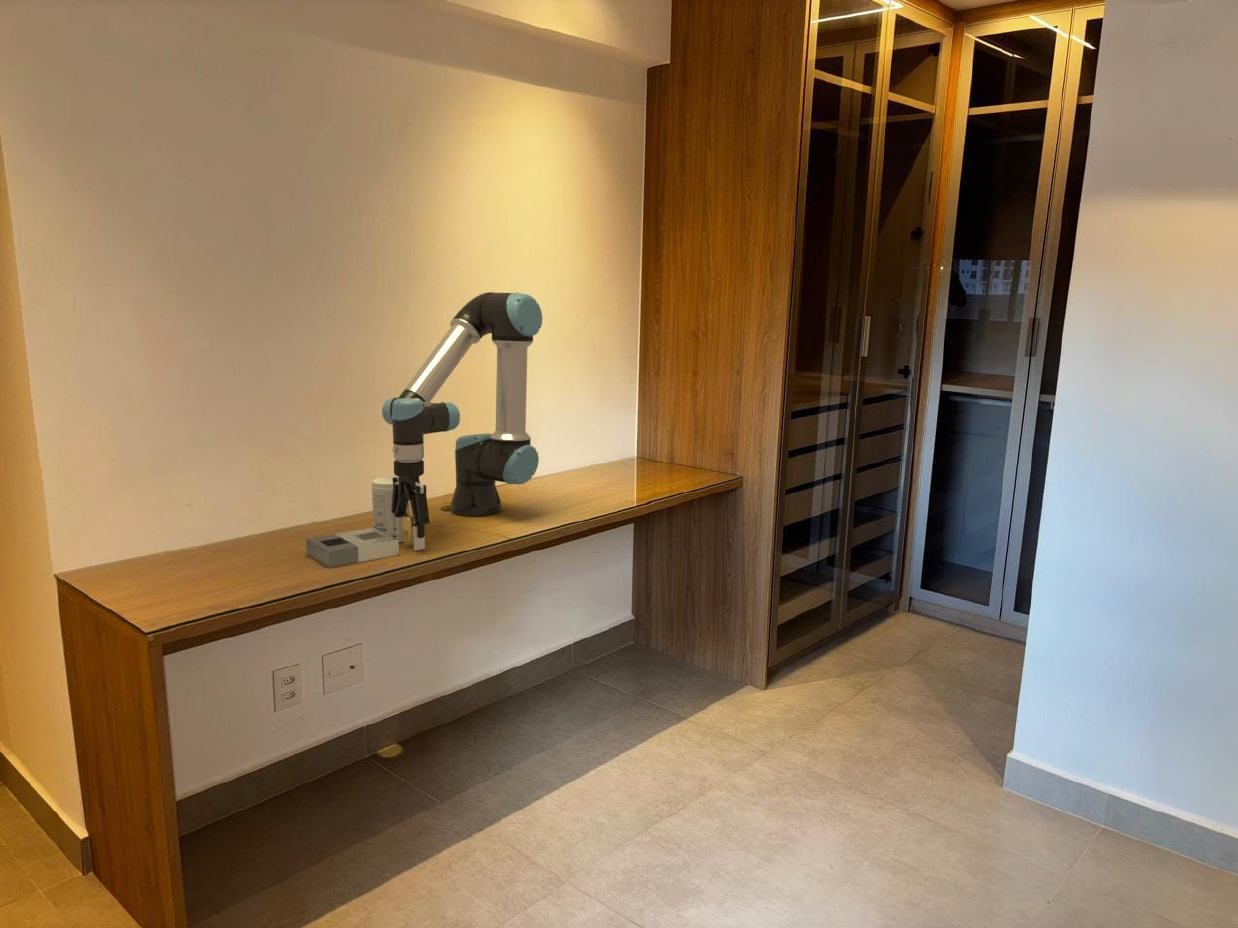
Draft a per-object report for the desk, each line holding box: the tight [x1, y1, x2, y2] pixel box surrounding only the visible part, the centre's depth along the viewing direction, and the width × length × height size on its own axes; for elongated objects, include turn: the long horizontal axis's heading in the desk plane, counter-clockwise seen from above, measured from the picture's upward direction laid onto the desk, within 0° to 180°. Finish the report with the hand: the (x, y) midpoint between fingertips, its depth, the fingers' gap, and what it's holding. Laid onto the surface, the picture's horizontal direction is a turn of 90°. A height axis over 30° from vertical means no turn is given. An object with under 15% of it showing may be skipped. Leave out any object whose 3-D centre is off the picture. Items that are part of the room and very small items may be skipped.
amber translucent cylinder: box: [402, 513, 415, 549], centre depth 231 cm, size 4×4×8 cm
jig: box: [305, 526, 400, 569], centre depth 223 cm, size 18×14×4 cm
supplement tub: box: [371, 476, 410, 537], centre depth 243 cm, size 10×10×15 cm
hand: (410, 545), depth 232 cm, fingers open, 9 cm apart
